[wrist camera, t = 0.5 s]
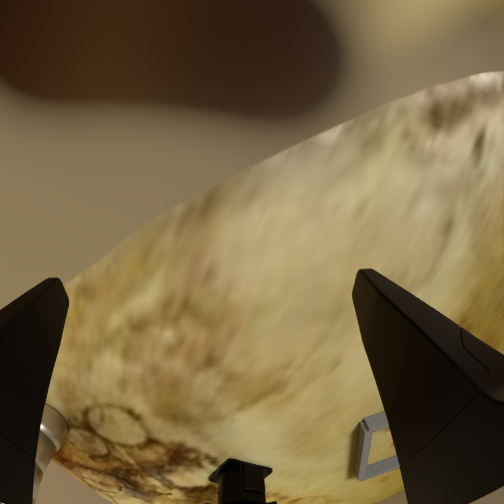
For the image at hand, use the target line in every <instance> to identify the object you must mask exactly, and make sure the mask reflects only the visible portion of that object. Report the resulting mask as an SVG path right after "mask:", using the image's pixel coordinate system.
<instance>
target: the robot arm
mask: <svg viewBox="0 0 504 504" xmlns="http://www.w3.org/2000/svg"><path fill="white" fill-rule="evenodd" d="M352 299H353V303H354V307H355V311H356V316H357V320H358V324H359V329H360V333H361V337H362V341H363V345H364V348H365V351H366V354H367V357H368V360H369V363H370V366H371V369H372V372H373V375H374V378H375V381H376V384H377V387H378V391H379V394H380V397H381V400H382V404H383V407H384V410H385V414H386V417H387V421H388V424H389V428H390V431H391V435H392V439H393V443H394V446H395V450H396V454H397V458H398V462H399V465H400V471H401V475H402V479H403V484H404V488H405V493H406V497H407V502H408V504H504V355H503V354H502V353H500V352H498V351H497V350H495V349H494V348H492V347H490V346H489V345H487V344H486V343H484V342H482V341H481V340H480V339H478V338H477V337H475V336H474V335H472V334H471V333H469V332H468V331H466V330H465V329H464V328H462V327H460V326H459V325H458V324H456V323H455V322H453V321H452V320H450V319H449V318H447V317H446V316H444V315H443V314H441V313H440V312H438V311H437V310H435V309H434V308H432V307H431V306H429V305H428V304H426V303H425V302H423V301H422V300H420V299H419V298H417V297H416V296H414V295H413V294H411V293H410V292H408V291H407V290H405V289H403V288H402V287H400V286H399V285H397V284H396V283H394V282H392V281H391V280H389V279H388V278H386V277H385V276H383V275H381V274H380V273H378V272H377V271H375V270H373V269H370V268H369V269H360V270H358V272H357V274H356V279H355V283H354V287H353V291H352ZM68 307H69V298H68V296H67V293H66V291H65V289H64V286H63V284H62V282H61V280H60V279H59V278H47V279H45V280H44V281H42V282H41V283H39V284H38V285H36V286H35V287H33V288H32V289H30V290H29V291H27V292H26V293H24V294H23V295H21V296H20V297H18V298H17V299H15V300H14V301H12V302H11V303H10V304H8V305H7V306H5V307H4V308H3V309H1V310H0V504H33V486H34V474H35V464H36V460H35V459H36V454H37V447H38V440H39V434H40V428H41V422H42V417H43V412H44V407H45V402H46V397H47V393H48V389H49V385H50V381H51V377H52V373H53V369H54V365H55V362H56V358H57V354H58V351H59V347H60V343H61V339H62V334H63V329H64V324H65V320H66V316H67V312H68ZM271 473H272V468H268V467H264V466H259V465H255V464H251V463H247V462H243V461H239V460H236V459H228V460H227V461H226V462H225V463H223V464H222V465H221V466H220V467H219V468H218V469H217V470H216V471H215V472H214V473H213V474H212V475H211V476H210V477H209V481H212V482H215V483H218V504H277V502H276V501H273V502H269V503H266V497H265V491H266V490H265V481H264V479H265V478H266V477H267V476H268V475H270V474H271ZM205 504H210V503H205Z"/></svg>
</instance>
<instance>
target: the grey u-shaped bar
mask: <svg viewBox="0 0 504 504" xmlns="http://www.w3.org/2000/svg"><path fill="white" fill-rule="evenodd" d="M387 427H389V424H388V421H387V417H386V414H385V411H384V412H381V413H378V414H375V415H372V416H369V417H366V418H364V421H361V422H360V427H359V437H358V446H357V454H356V462H355V469H354V472H355V475H356V478H357V481H359V480H360V481H363V480H366V479H369V478H372V477H375V476H378V475H381V474H384V473H386V472H389V471H392V470H394V469H397V468H399V467H400V465H399V462H398V458H397V455H396V456H394V457H391V458H388V459H386V460H383V461H380V462H377V463H374V464H371V465H368V466H367V462H368V457H369V451H370V445H371V439H372V433H373V432H376V431H379V430H382V429H385V428H387Z"/></svg>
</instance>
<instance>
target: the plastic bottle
mask: <svg viewBox="0 0 504 504" xmlns="http://www.w3.org/2000/svg"><path fill="white" fill-rule="evenodd" d="M66 436H67V427H66V423H65V421H64V419H63V418H62V417H61V415H60V414H59V413H58V412H57V411H55V410H54V409H53V408H52V407H50V406H48V405H47V404H45V407H44V412H43V417H42V422H41V428H40V434H39V440H38V447H37V454H36V459H35V460H36V464H35V474H34V486H33V504H35V502H36V499H37V494H38V490H39V485H40V482H41V480H42V477H43V474H44V472H45V469H46V467H47V465H48V464H49V462H50V461H51V459H52V458H53V456H54V454H55V453H56V452H57V451H58V450H59V449H60V448H61V446H62V445H63V443H64V442H65V440H66Z"/></svg>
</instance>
